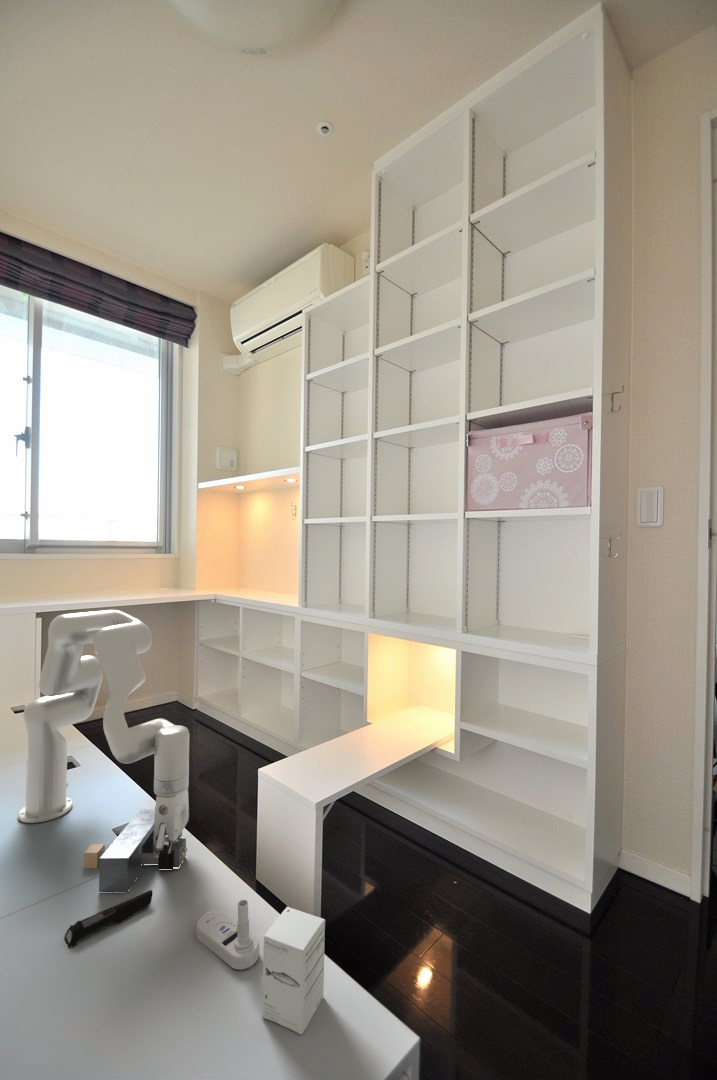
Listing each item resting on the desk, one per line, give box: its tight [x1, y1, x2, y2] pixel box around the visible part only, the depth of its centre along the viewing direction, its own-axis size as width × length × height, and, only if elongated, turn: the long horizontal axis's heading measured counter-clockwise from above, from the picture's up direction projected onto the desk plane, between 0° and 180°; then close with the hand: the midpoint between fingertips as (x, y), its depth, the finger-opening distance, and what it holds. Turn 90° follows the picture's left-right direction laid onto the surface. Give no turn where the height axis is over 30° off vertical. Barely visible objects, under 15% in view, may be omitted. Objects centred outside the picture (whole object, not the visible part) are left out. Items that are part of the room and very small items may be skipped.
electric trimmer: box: [63, 889, 154, 948], centre depth 96 cm, size 4×16×3 cm, turn 134°
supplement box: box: [261, 906, 326, 1036], centre depth 78 cm, size 7×7×13 cm
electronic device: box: [196, 899, 260, 971], centre depth 90 cm, size 5×10×15 cm
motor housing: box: [98, 808, 157, 893], centre depth 114 cm, size 6×20×7 cm, turn 0°
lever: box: [83, 838, 188, 869], centre depth 114 cm, size 22×4×4 cm, turn 91°
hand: (170, 861), depth 114 cm, fingers closed on lever, 4 cm apart
